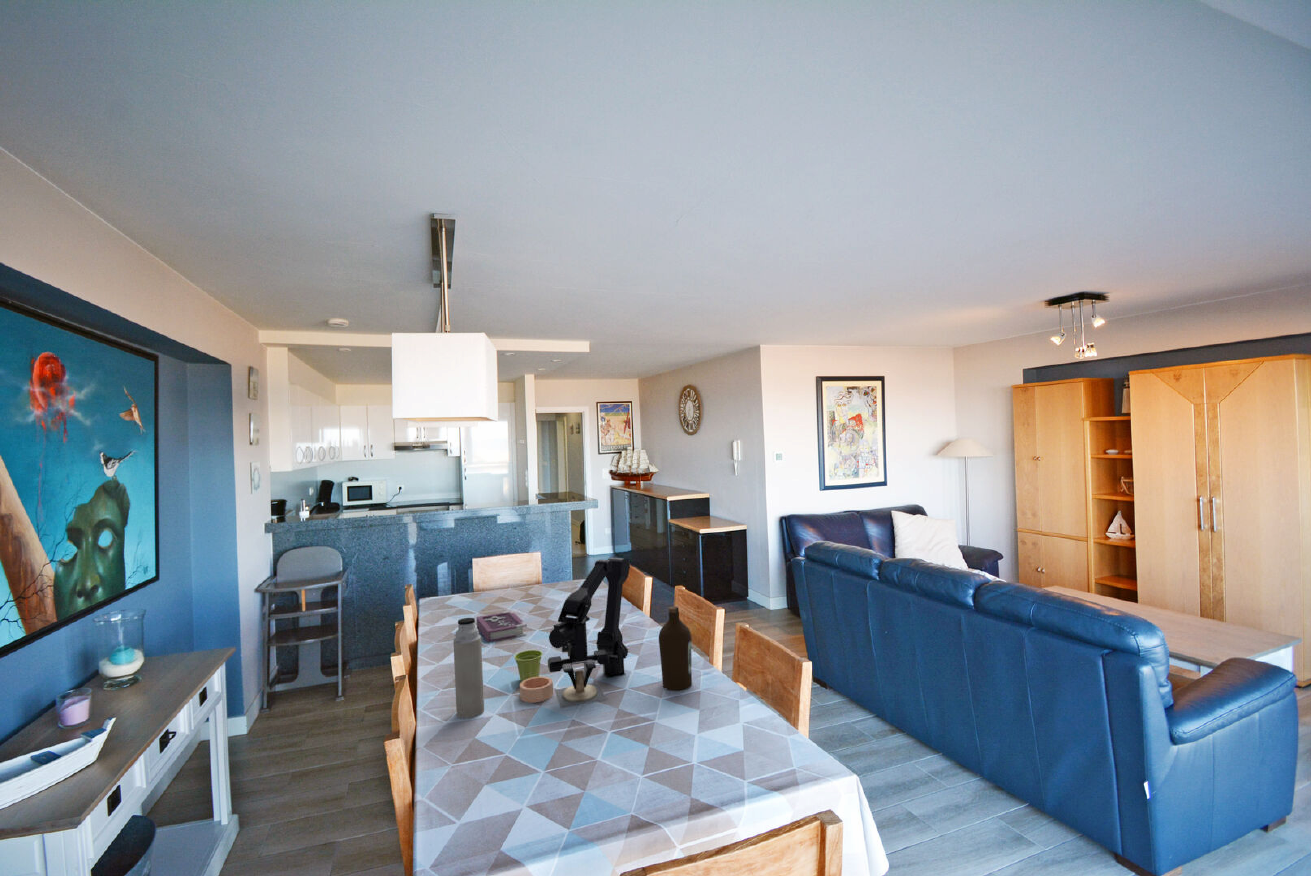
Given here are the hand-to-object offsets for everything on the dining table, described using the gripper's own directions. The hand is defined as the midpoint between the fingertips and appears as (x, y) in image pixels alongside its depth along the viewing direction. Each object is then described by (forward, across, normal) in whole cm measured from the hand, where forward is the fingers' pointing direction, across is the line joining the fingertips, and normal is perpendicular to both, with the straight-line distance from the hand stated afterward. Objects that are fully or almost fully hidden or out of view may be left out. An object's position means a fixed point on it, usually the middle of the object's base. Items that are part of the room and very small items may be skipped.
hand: (579, 687), depth 185 cm
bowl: (+3, +13, -5) cm, 14 cm away
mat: (+3, 0, 0) cm, 3 cm away
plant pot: (+3, +14, -20) cm, 25 cm away
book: (+3, +21, -82) cm, 85 cm away
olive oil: (+3, -31, +4) cm, 31 cm away
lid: (+2, 0, 0) cm, 2 cm away
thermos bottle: (+3, +33, -2) cm, 33 cm away
